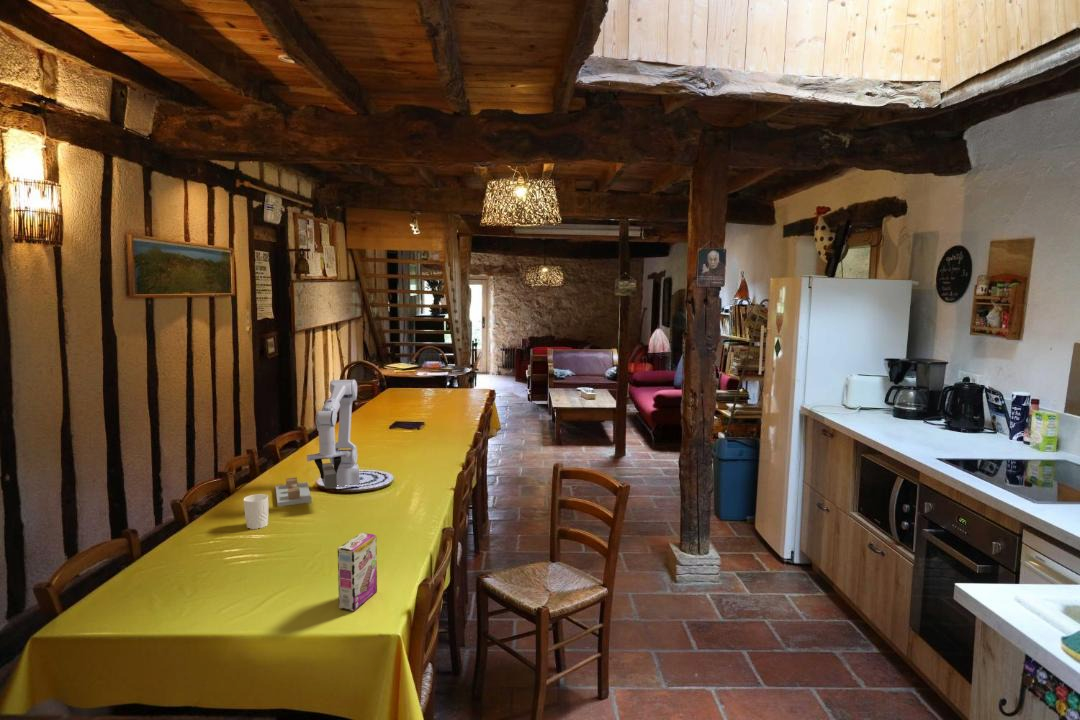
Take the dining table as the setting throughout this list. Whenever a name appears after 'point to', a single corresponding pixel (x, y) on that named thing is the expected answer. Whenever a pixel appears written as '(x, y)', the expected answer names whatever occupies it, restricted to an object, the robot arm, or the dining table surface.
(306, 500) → the display stand
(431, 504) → the dining table surface
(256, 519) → the white cup
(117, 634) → the dining table surface
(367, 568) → the candy bar box
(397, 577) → the dining table surface
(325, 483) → the gray rectangular block
